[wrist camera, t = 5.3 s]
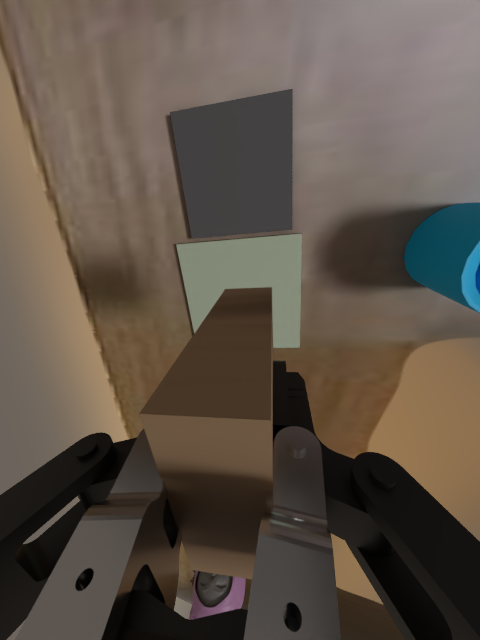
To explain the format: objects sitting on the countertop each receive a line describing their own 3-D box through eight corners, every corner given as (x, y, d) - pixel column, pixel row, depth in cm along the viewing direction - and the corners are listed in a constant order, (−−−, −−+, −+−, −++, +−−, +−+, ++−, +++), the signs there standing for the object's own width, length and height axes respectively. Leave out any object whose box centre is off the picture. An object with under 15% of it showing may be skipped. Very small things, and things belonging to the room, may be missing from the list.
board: (177, 243, 26) (176, 244, 26) (301, 233, 24) (301, 233, 24) (198, 346, 32) (197, 348, 32) (299, 345, 30) (299, 347, 29)
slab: (225, 289, 13) (139, 413, 4) (271, 287, 12) (270, 420, 4) (234, 382, 15) (191, 569, 7) (273, 383, 15) (275, 582, 7)
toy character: (251, 496, 46) (237, 674, 29) (259, 523, 50) (251, 694, 33) (196, 494, 49) (151, 657, 31) (208, 520, 53) (175, 677, 35)
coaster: (172, 114, 21) (169, 112, 21) (292, 92, 19) (292, 88, 19) (193, 238, 26) (191, 238, 25) (291, 229, 24) (292, 229, 23)
